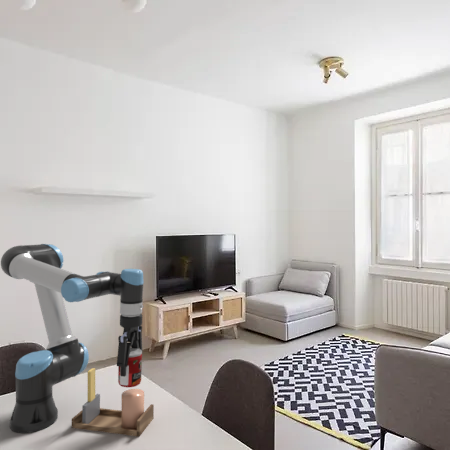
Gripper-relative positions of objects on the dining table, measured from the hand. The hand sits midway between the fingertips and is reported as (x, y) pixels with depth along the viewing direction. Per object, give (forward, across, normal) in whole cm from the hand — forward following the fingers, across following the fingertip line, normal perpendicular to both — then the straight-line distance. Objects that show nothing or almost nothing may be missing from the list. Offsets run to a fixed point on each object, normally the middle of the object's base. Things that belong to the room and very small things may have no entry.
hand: (129, 379), depth 130 cm
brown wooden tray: (+16, 0, +5) cm, 17 cm away
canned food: (+1, 0, 0) cm, 1 cm away
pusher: (+17, 0, +14) cm, 22 cm away
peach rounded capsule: (+16, 0, -2) cm, 16 cm away
